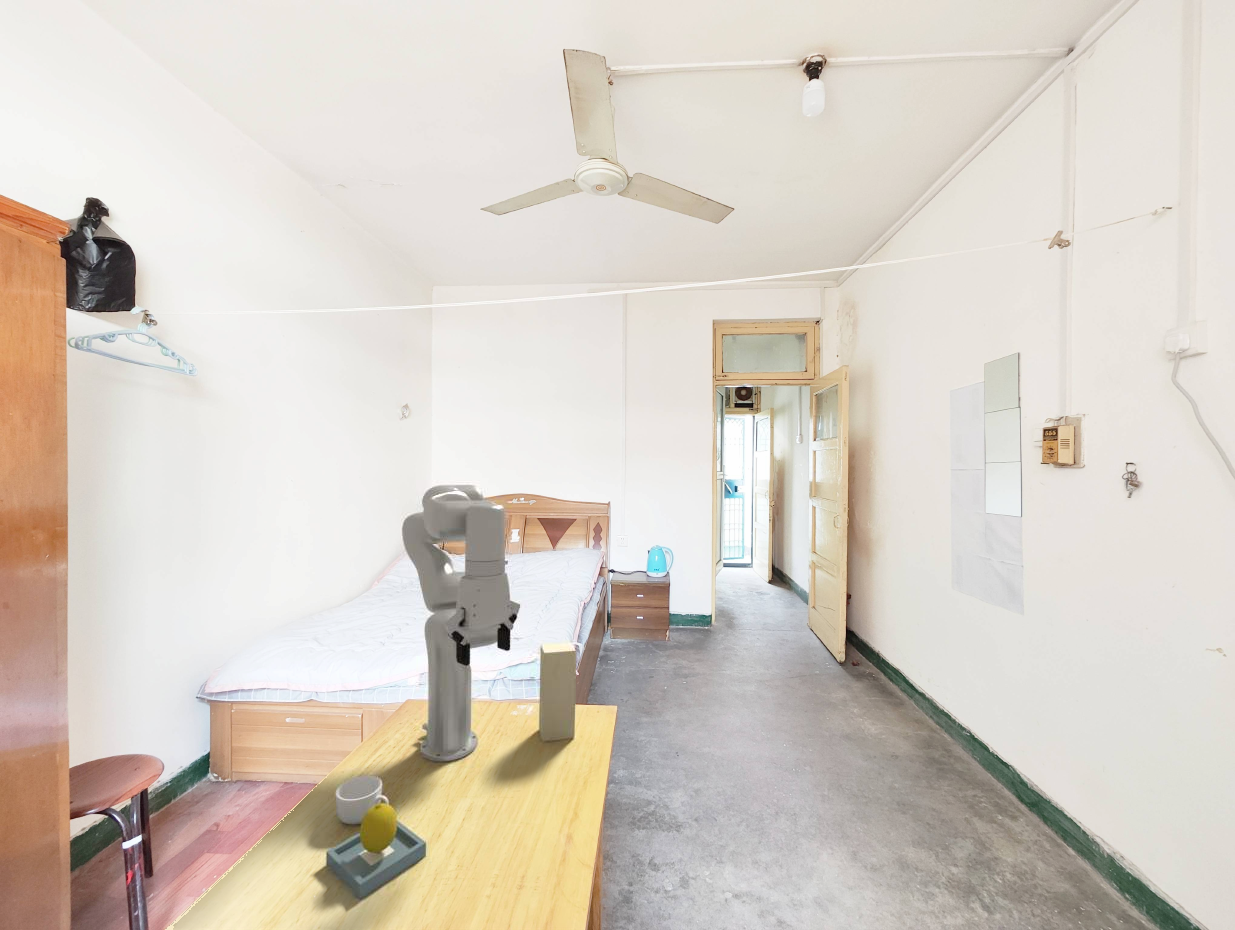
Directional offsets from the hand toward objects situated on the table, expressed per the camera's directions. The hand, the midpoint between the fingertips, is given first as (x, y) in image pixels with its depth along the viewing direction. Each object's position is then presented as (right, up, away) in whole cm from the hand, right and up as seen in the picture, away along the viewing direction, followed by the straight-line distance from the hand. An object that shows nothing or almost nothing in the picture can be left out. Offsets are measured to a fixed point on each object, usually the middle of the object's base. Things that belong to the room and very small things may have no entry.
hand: (484, 656), depth 100 cm
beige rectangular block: (+11, -29, +27) cm, 41 cm away
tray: (-14, -28, -15) cm, 35 cm away
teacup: (-21, -28, -4) cm, 36 cm away
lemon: (-14, -27, -15) cm, 34 cm away
